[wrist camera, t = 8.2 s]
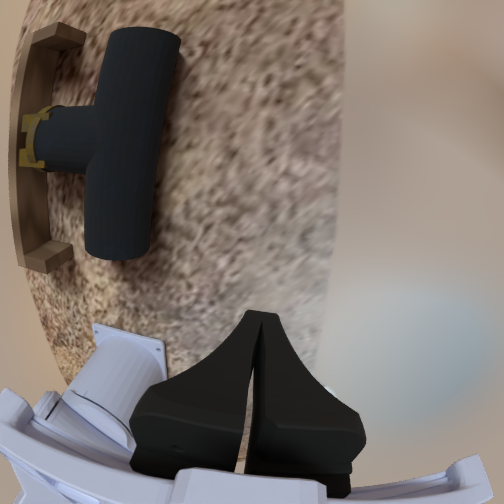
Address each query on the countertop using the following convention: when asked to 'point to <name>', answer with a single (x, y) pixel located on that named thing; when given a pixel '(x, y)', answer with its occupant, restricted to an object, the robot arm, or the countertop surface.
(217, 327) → the countertop surface
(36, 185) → the stop rail
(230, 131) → the countertop surface
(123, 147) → the pipe connector
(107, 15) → the countertop surface
